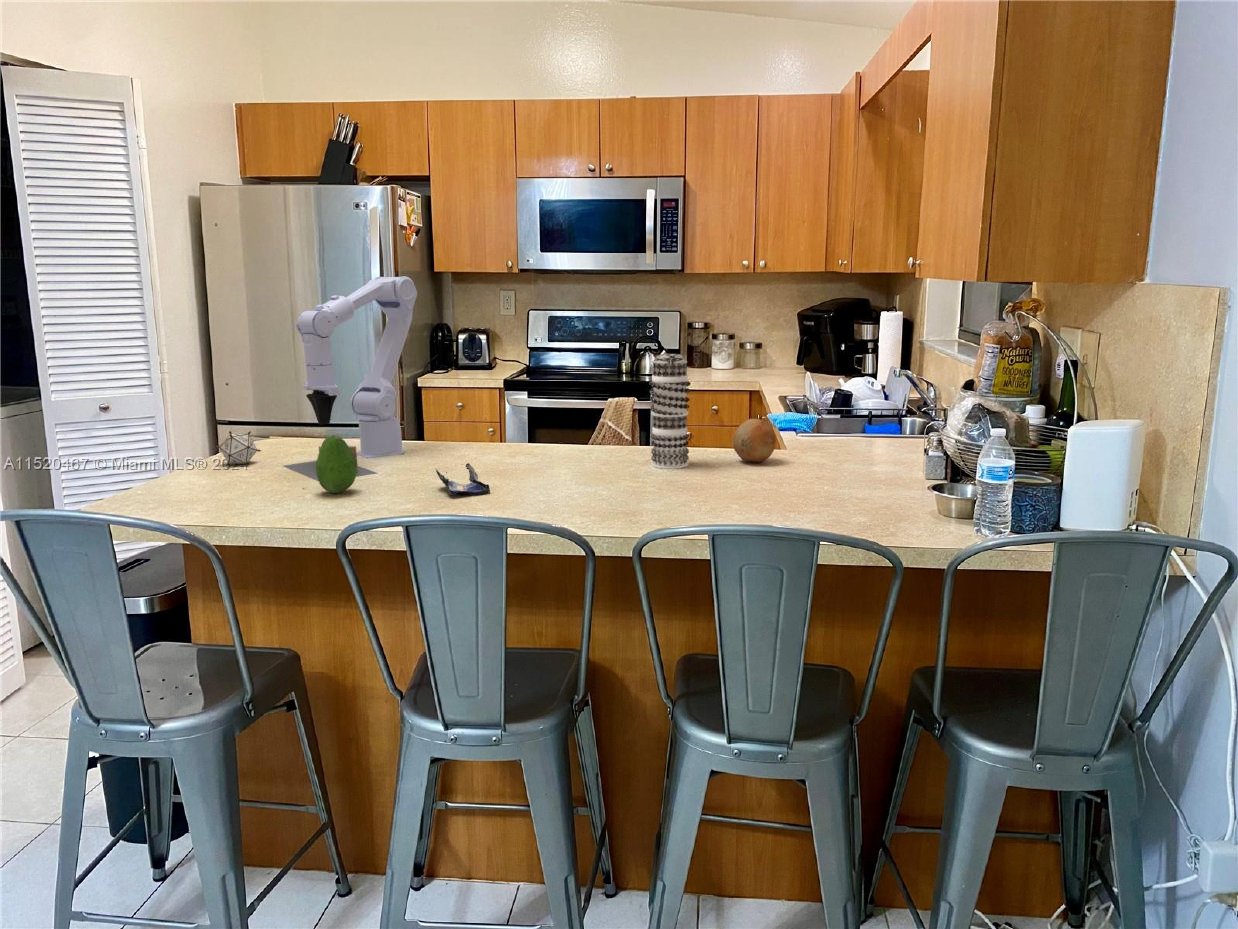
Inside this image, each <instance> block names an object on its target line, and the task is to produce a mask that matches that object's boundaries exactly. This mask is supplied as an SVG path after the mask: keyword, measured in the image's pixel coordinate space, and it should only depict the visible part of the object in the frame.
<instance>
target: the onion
mask: <svg viewBox="0 0 1238 929" xmlns="http://www.w3.org/2000/svg"><path fill="white" fill-rule="evenodd" d="M776 443H777V439H776V433H775V432H774V430H773V429H772V427H771V425H770V424H769V423H768V422H766V421H764V420H762V419H758V418H749V419H747V420H745V421H743V423H741V424H740V425H739V426H738V427H737V428H736V430H735V432H734V433H733V438H732V447H733V450H734V452H735V453H736V455H737V456H738V457H739V458H740V459H741V460H742V461H744V462H750V463H764V462H765V461H767V459H769V458H770V457H771V455H772V454H773V453H774V451H775V448H776Z"/></svg>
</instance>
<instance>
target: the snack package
mask: <svg viewBox="0 0 1238 929" xmlns="http://www.w3.org/2000/svg"><path fill="white" fill-rule="evenodd" d="M463 465H464V464H463V463H462V464H461V466H463ZM456 467H457V466H455V468H456ZM465 467H466V470H468V475H469V476H468V477H469V479H468V481H469V482H470V483H467V484H461V483H459V482H456V481H454V480H450V479H449V478H448V476H447V477H445V475H443V474H441V472H439V470H438V469H436V467H434V468H435V471H436V474H437V477H438V478H439V479H440V481H442V483H443V484H444V486H445V487H446V490H448V492H449V493H450V495H451V496H453V495H455V494H461V493H462V494H465V493H466V494H468V495H469V497H472V496H480V495H483V494H486V493H488V494H489V493H491V488H490V485H489V484H486V483H483V482H482V481H480V480H479V475H478V474H477V472H476V471H475V468H474V467H473V466H472V465H471V464H470V463H468V462H467V463H466V464H465ZM445 474H448V472H447V471H445ZM459 486H460V487H462V488H463V490H458V489H457V488H458V487H459Z"/></svg>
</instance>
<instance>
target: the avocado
mask: <svg viewBox="0 0 1238 929" xmlns="http://www.w3.org/2000/svg"><path fill="white" fill-rule="evenodd" d="M320 446H321V449H320V452H319V451H318V455H317V459H316V461H317V462H316V475H317V478H318V480H319V481H318V483H319V485H320V486H321V487H322V489H324V490H325V491H327V493H328V492H329V493H331V494H341V493H343V492H345V491H347V490H348V489H349V488H351V487H352V486H353V484H354V483H355V480H356V478H357V477H356V474H357V466H358V464H357V465H356V460H355V458H354V456H353V454H352V451H351V450H350V448H349V447H348V445H347V442H346V441H345V440H344V439H343V438H342V437H341V436H338V435H335V434H331V435H328V436H327V437H326V438H325V439H324V440H323V441H322V444H321V445H320Z"/></svg>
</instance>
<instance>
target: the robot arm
mask: <svg viewBox="0 0 1238 929" xmlns="http://www.w3.org/2000/svg"><path fill="white" fill-rule="evenodd" d="M416 288H417V287H416V285H415V283H414V281H413V280H412V278H410V277H409V276H403V275H402V276H377V277H374V278H373V279H370V280H368V282H366V284H364V285H363V286H361V287H360V288H358V289H357V290H355V291H353V292H352V293H351V294H349V295H347V296H343V295H332V296H330V300H327V301H326V302H324V303H322V304H318V305H315V308H314V309H313V310H305V311H303V312H302V313H300V315H299V317H298V319H297V323H296V324H295V328H296V330H297V332H298V334H299V335H300V337H301V342H302V344H303V351H304V360H305V362H304V364H305V372H306V381H303V385H302V387H301V388H302V389H304V391H312V393H307V394H306V399H308V401H309V402H310V404H311V406H312V408H313V410H314V415H315V416H316V420H317V423H318V425H321V426H323V425H330V423H331V417H332V411H333V406H334V403H335V402H336V399H337V397H338V396H339V395H340V390H339V386H338V385H337V384H336V383H335V382H334V380H335V379H334V371H333V368H334V367H333V360H332V359H333V358H332V348H331V336H332V335H333V334H334V332H335V331H336V330H335V329H336V328H337V327H338V326H340V325H342V324H345V322H347V321H349V320H350V319H352V318H353V317H354V315H355V311H356V310H357V309H360V308H363V307H364V306H365V305H367V304H370V303H372V302H374V301H375V303H376V305H378V307H379V308H380V310H381V311H382V312H383V313H384V314H385V315H386V317H387V322H386V324H385V327H384V329H383V334H382V335H381V339H380V342H379V345H378V347H377V352H376V355H375V357H374V361H373V363H372V365H371V366H372V367H371V369H370V372H369V376H368V377H367V378H365V379H364V380H363V381H361V382H360V383H359V385H358V387H357V390H356V391H355V392H354V393H353V394H352V395H351V398H350V401H349V402H350V409H351V411H352V413H353V414H354V415H356V419H357V420H358V430H359V431H358V432H359V443H360V451H356V453H357V456H360V457H363V458H366V459H372V458H381V457H387V456H392V455H402V454H404V453H405V451H403V439H402V428H401V423H400V421H399V419H398V418H397V417H396V416H392V415H393V414H394V413H395V410H396V398H397V395H398V392H397V390H396V389H395V387H394V386H393V385H392V383H393V380H394V376H395V374H396V370H397V367H398V364H399V361H400V357H401V355H402V351H403V349H404V345H405V343H406V339H407V336H408V333H409V330H410V327H411V324H412V322H413V313H414V311H413V309H414V305H415V302H416V300H417V296H418V291H417V289H416ZM380 456H381V457H380Z"/></svg>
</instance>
